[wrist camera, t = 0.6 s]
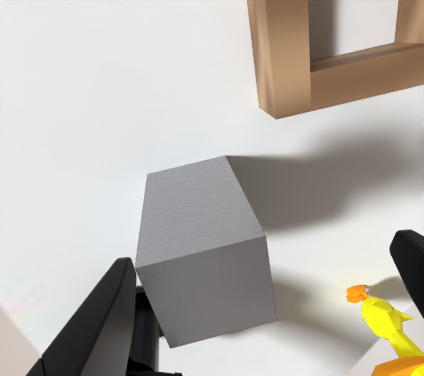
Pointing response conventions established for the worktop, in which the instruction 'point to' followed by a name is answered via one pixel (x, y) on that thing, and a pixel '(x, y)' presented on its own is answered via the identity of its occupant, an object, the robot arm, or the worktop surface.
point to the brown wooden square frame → (328, 60)
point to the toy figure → (389, 334)
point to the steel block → (203, 254)
